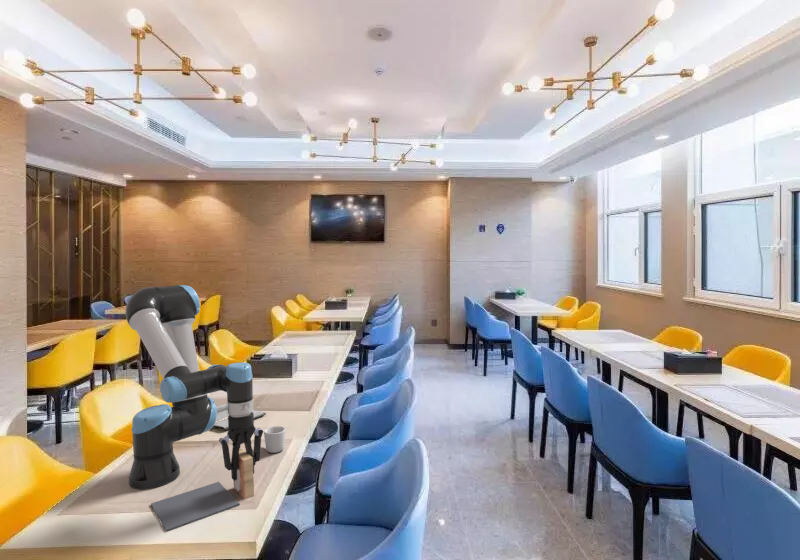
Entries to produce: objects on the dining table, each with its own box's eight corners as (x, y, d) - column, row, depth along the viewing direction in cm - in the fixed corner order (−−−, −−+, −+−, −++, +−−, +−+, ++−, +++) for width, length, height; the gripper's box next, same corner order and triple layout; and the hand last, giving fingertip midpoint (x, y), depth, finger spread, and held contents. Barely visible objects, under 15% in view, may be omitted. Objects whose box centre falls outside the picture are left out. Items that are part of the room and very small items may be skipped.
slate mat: (150, 505, 139) (150, 503, 139) (218, 483, 152) (218, 481, 152) (166, 531, 126) (166, 530, 126) (239, 505, 138) (239, 503, 138)
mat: (224, 433, 196) (224, 422, 196) (189, 424, 208) (188, 414, 208) (266, 416, 216) (265, 406, 216) (231, 409, 228) (231, 399, 228)
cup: (257, 448, 179) (256, 428, 179) (275, 442, 185) (274, 422, 184) (271, 456, 172) (270, 435, 171) (290, 450, 177) (289, 429, 177)
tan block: (233, 488, 149) (232, 451, 148) (242, 484, 151) (241, 448, 150) (244, 499, 142) (243, 460, 141) (254, 495, 144) (252, 457, 143)
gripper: (218, 423, 137) (221, 500, 138) (270, 410, 147) (272, 482, 149) (210, 416, 143) (213, 491, 144) (260, 404, 153) (263, 474, 154)
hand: (243, 486), depth 146 cm, fingers closed on tan block, 3 cm apart
